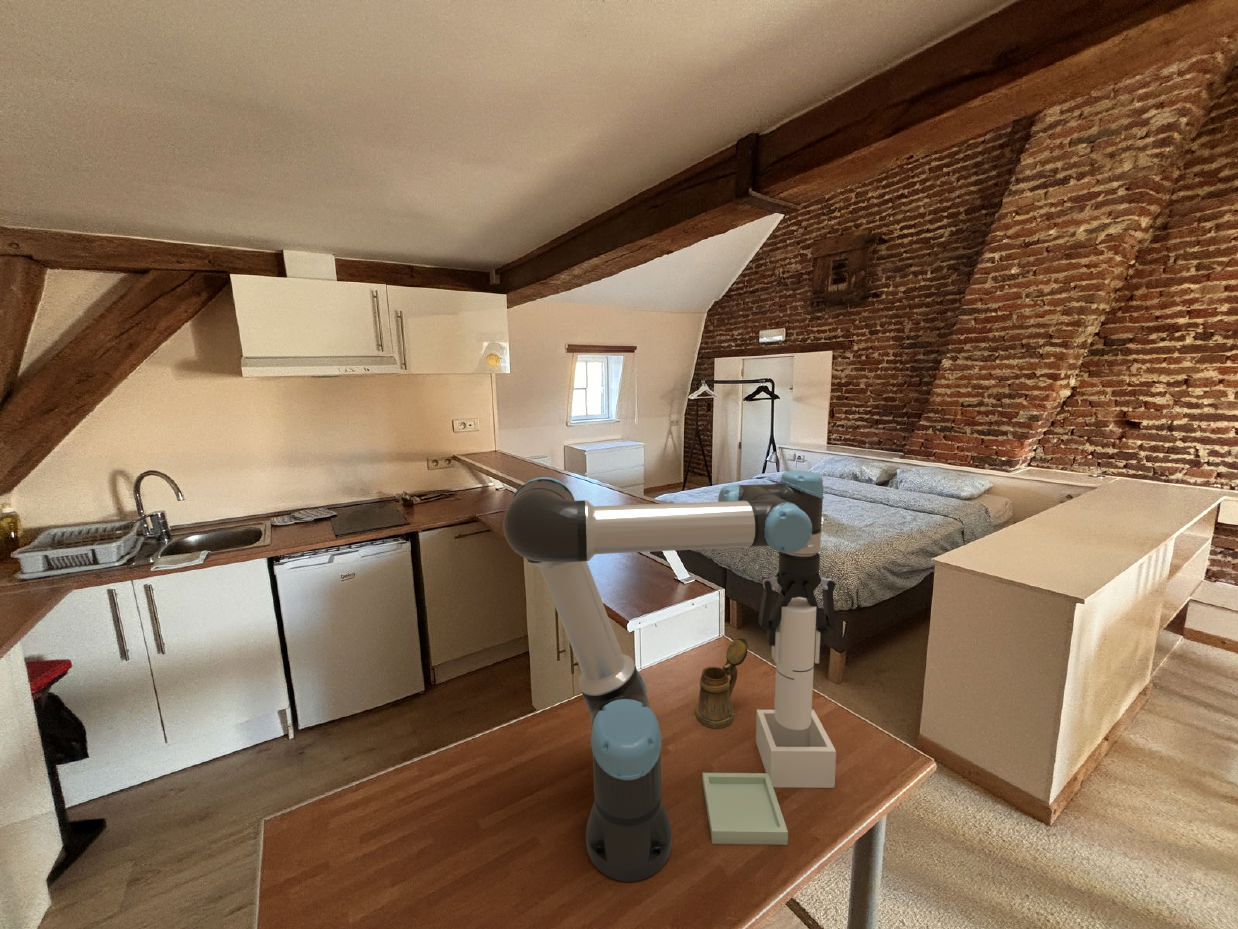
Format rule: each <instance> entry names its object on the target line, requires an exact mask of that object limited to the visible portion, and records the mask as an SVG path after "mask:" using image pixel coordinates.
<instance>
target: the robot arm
mask: <svg viewBox="0 0 1238 929" xmlns="http://www.w3.org/2000/svg"><path fill="white" fill-rule="evenodd" d="M780 478H781V479H780V481H779V482H778V483H777V482H776V483H767V484H766V483H765V484H762V483H761V484H760V483H759V484H758V483H757V484H740V483H737V484H735V485H734V484H733V485H726V486H725V485H724V486H723V487H721V489H720V491H719V494H718V497H717V498H718V500H717V501H705V502H704V501H703V502H701V501H700V502H678V503H675V502H674V503H673V502H671V503H652V504H651V503H649V504H647V503H646V504H625V505H624V504H623V505H622V504H621V505H618V504H617V505H601V506H600V505H597V506H596V505H595V506H594V505H593V504H591V503H590V501H588V500H581V499H580V500H575V496H574V494H573V493H572V491H571V490H570V489H569V487H567V485H566V484H564V483H563V482H561V481H560V480H558V479H556V478H552V477H548V476H543V477H535V478H532V479H531V480H528V481H527V482H525V483H524V484H522V485H521V486H520V487H519V488H518V489H516V491H515V493H514V494H513V496H512V499H511V502H510V504H509V505H508V507H507V508H506V511H505V514H504V517H503V523H502V528H503V529H502V530H503V533H504V537H505V540H506V541H507V544H508V545H509V546H510V548H511V549H512V550H513V551H514V552H515V553H516V554H518V555H519V556H520V557H522V558H525V559H526V561H527V562H528V564H529V565H531V566H532V565H533V566H534V567H538V568H539V570H540V573H541V575H542V578H543V580H544V582H545V586H546V587H547V590H548V592H549V594H550V598H551V599H552V602H553V604H554V607H555V610H556V612H557V614H558V617H559V620H560V622H561V624H562V627H563V629H564V631H565V635H566V637H567V639H568V642H569V644H570V647H571V649H572V651H573V653H574V656H575V658H576V661H577V664H578V665H579V668H580V670H581V675H580V676H579V680H578V686H579V690H580V692H581V695H582V696H583V699H584V702H585V704H586V707H587V709H588V712H589V717H590V726H591V727H590V729H591V732H590V746H591V750H592V772H593V775H592V776H593V793H594V801H593V805H592V807H591V810H590V814H589V816H588V818H587V823H586V828H585V829H586V830H585V842H586V845H585V846H586V851H587V854H588V856H589V860H590V861H591V863H592V864H593V865H594V867H595V868H596V869H597V870H598V872H600V873H601V874H603V875H604V876H606V877H608V878H610V879H612V880H616V881H620V882H629V883H630V882H631V883H632V882H639V881H642V880H646V879H648V878H650V877H652V876H654V875H655V874H657V873H658V872H659V871H660V870H662V868H663V867H664V865H665V864H667V861H668V859H669V857H670V855H671V851H672V847H673V830H672V829H673V828H672V824H671V820H670V817H669V815H668V813H667V810H666V807H665V804H664V802H663V800H662V770H661V769H662V767H661V766H662V765H661V763H662V762H661V761H662V757H661V754H662V753H661V750H662V741H663V740H662V733H661V729H660V723H659V720H658V718H657V716H656V714H655V712H654V711H653V710H652V709H651V706H650V703H649V699H648V694H647V693H648V691H647V687H646V686H647V685H646V683H645V681H644V678H643V677H642V676H641V673H640V672H639V671H638V669H637V666H636V664H635V662H634V660H633V658H632V657H631V656H629V655H627V654H625V653H623V651H622V649H621V647H620V644H619V641H618V638H617V635H616V634H615V631H614V629H613V626H612V623H611V621H610V618H609V615H608V613H607V610H606V607H605V605H604V602H603V600H602V597H601V594H600V593H599V592H600V591H599V590H598V587H597V585H596V582H595V580H594V577H593V574H592V571H591V569H590V566H589V564H588V562H589V561H591V560H592V558H593V557H594V556H595V555H603V554H605V555H606V554H627V553H630V554H631V553H646V552H647V553H648V552H650V553H651V552H670V551H672V552H673V551H688V550H690V551H691V550H693V551H694V550H707V549H708V550H711V549H729V548H730V549H732V548H733V549H734V548H752V547H753V548H754V547H759V548H760V547H770V549H772V550H773V551H777V552H778V570H777V573H776V574H775V577H771V578H768V577H766V576H763V577H762V578H761V583H762V587H763V589H762V590H763V591H762V596H761V602H760V607H759V608H760V609H759V613H758V619H757V621H758V624H759V625H760V628H761V629H762V630H767V633H766V634H767V637H766V638H767V643H768V644H769V646H771V657H772V660H773V661H774V664H776V663H779V650H780V632H779V630H778V628H777V627H778V625H779V623H780V621H781V616H782V607H787V605H788V603H790V601H791V599H792V598H797V597H802V598H806V599H807V601H808V603H809V604H810V605H811V607H817V608H816V629H815V650H814V663H815V664H820V651H821V650H820V648H821V647H824V646H825V644H826V643H825V640H826V634H827V633H828V630H834V629H835V628H836V626H837V625H836V614H835V604H834V602H835V601H834V591H835V587H836V583H835V581H834V580H833V579H832V578H831V577H829V576H826V577H821V575H820V563H821V554H820V553H819V552H820V551H821V539H822V538H821V536H822V521H823V520H822V518H823V517H822V516H823V500H824V499H825V498H824V497H825V495H824V482H823V477H822V476H821V475H820V474H819V473H817V472H813V471H807V470H790V471H785V472H783V473H782V474H781V477H780ZM776 585H779V587H780V591H779V593H778V597H777V600H776V602H775V604H774V607H773V609H772V611H771V608H772V607H771V606H772V600H773V591H774V590H775V588H776ZM819 585H820V587H821V591H822V602H823V613H824V614H823V616H824V619H823V616H822V614H821V613H822V612H821V610H820V608H819V606H818V602H817V599H816V595H815V593H814V592H815V590H816V589H817V588H818V587H819Z"/></svg>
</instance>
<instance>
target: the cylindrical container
mask: <svg viewBox="0 0 1238 929" xmlns="http://www.w3.org/2000/svg"><path fill="white" fill-rule="evenodd" d="M816 608H817V607H811V605H810V604H809V603H808V601H807V599H806V598H802V597H797V598H792V599H791V601H790V603H788V605H787V607H782V616H781V621H780V623H779V625H778V627H777V628H778V630H779V632H780V650H779V663H775V684H774V686H775V687H774V709H773V710H774V716H775V719H776V721H777V722H778V723H779V724H781V725H782V726H784V727H786V728H789V729H793V730H803V729H806V728H808V727H809V726H810V724H811V712H812V710H813V709H812V707H813V689H814V688H813V687H814V667H815V664H814V663H815V662H814V650H815V629H816V627H817V625H816Z"/></svg>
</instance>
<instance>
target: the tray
mask: <svg viewBox="0 0 1238 929" xmlns="http://www.w3.org/2000/svg"><path fill="white" fill-rule="evenodd" d="M702 788H703V795H704V801H705V807H706V813H707V814H706V815H707V820H708V826H709V827H708V828H709V833H710V839H711V844H714V845H715V844H717V845H778V846H779V845H782V846H783V845H788V844H789V843H788V842H789V831H788V828H787V825H786V822H785V819H784V816H783V813H782V810H781V807H780V804H779V801H778V798H777V794H776V791H775V789H774V788H775V787H773V785H772V782H771V779H770V776H769V773H766V772H765V773H763V772H761V773H759V772H758V773H757V772H754V773H753V772H702Z"/></svg>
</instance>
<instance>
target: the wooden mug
mask: <svg viewBox="0 0 1238 929" xmlns="http://www.w3.org/2000/svg"><path fill="white" fill-rule="evenodd" d="M748 649H749V648H748V642H747V639H746V638H743V637H741V638H736V639H734V640H733V641H732V642H731V643H730V644H729V645H728V648H727V650H726V662H725V664H724V666H722V668H720V667H717V666H708V667H705V668H704V669H702V672H701V675H700V678H699V686H700V689H699V696H698V701H697V702H698V703H697V705H696V710H695V717H696V719H697V721H698V722H699V723H700V724H701V725H702V726H703V725H704V726H705V727H708V728H711V729H717V730H718V729H724V728H726V727H728V726H729V725H731V724H732V723H733V722H734V719H735V716H734V708H733V706H732V703H731V702H732V701H731V696H732V693H733V690H734V688H735V685H736V682H737V679H738V669H737V666H740V665H742V663H744V661H745V660H746V657H747V655H748V652H749V651H748ZM729 676H730V678H729Z"/></svg>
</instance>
